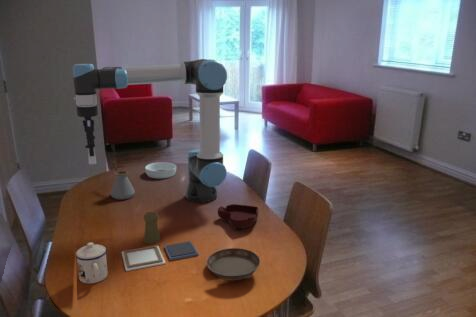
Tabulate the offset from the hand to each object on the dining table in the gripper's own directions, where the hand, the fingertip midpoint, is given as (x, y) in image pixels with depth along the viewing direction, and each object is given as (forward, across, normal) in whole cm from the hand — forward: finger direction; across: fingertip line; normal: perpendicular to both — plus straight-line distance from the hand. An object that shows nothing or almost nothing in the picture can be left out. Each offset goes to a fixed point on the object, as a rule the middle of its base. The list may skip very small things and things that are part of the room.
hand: (92, 159), depth 162 cm
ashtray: (+28, +17, +57) cm, 66 cm away
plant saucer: (+28, +52, +40) cm, 71 cm away
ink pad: (+28, +34, +27) cm, 52 cm away
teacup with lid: (+28, +42, -3) cm, 51 cm away
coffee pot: (+28, -34, +12) cm, 46 cm away
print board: (+28, +34, +13) cm, 46 cm away
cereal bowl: (+28, -53, +36) cm, 70 cm away
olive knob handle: (+28, +21, +18) cm, 40 cm away
